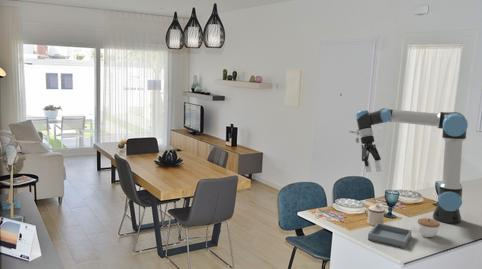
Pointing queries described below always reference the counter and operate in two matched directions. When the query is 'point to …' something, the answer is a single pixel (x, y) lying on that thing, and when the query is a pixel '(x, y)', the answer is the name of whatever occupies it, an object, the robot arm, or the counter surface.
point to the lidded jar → (428, 227)
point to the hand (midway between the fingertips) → (374, 171)
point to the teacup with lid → (375, 214)
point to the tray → (390, 235)
